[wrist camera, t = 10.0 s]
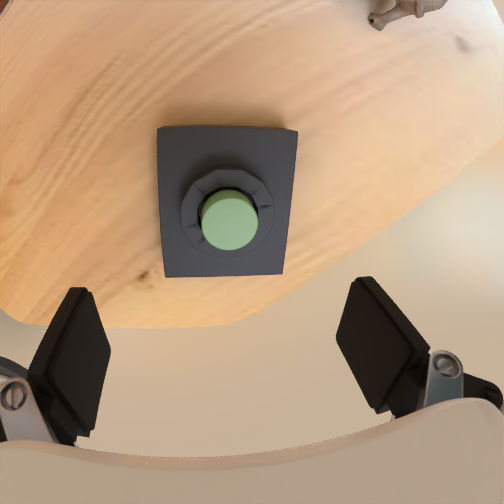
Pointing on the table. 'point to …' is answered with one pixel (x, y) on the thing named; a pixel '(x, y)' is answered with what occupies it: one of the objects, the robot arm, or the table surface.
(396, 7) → the rhinoceros figurine
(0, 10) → the coffee cup
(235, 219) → the green short cylinder
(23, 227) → the table surface
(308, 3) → the table surface
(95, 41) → the table surface
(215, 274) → the button base
